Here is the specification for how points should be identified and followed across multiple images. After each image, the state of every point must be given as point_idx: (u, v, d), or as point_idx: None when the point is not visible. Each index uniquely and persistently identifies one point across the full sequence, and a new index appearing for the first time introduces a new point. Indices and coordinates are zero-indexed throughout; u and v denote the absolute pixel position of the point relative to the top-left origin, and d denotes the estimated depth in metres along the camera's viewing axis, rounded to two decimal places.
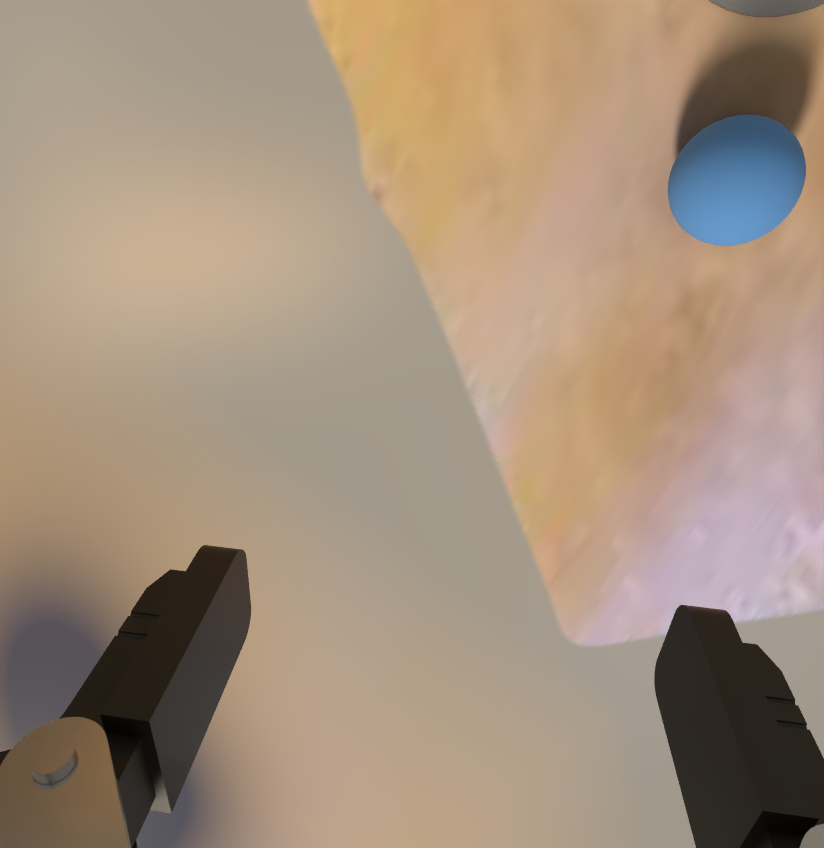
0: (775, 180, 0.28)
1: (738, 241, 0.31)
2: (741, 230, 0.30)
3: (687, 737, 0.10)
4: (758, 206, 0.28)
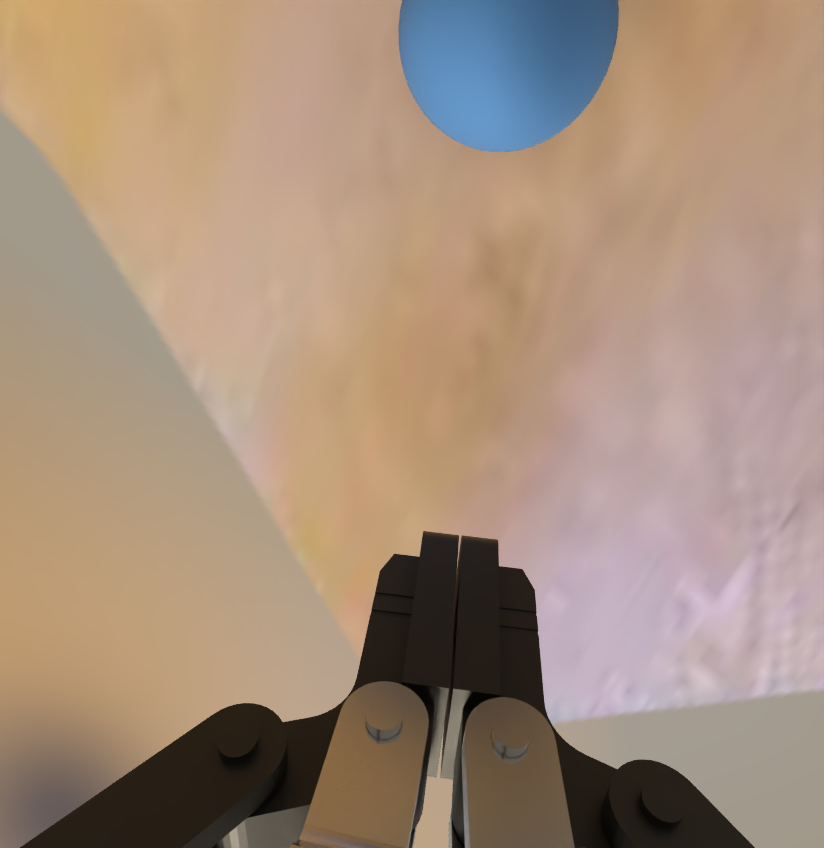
0: (543, 3, 0.15)
1: (510, 138, 0.17)
2: (503, 112, 0.16)
3: (451, 648, 0.11)
4: (518, 58, 0.15)
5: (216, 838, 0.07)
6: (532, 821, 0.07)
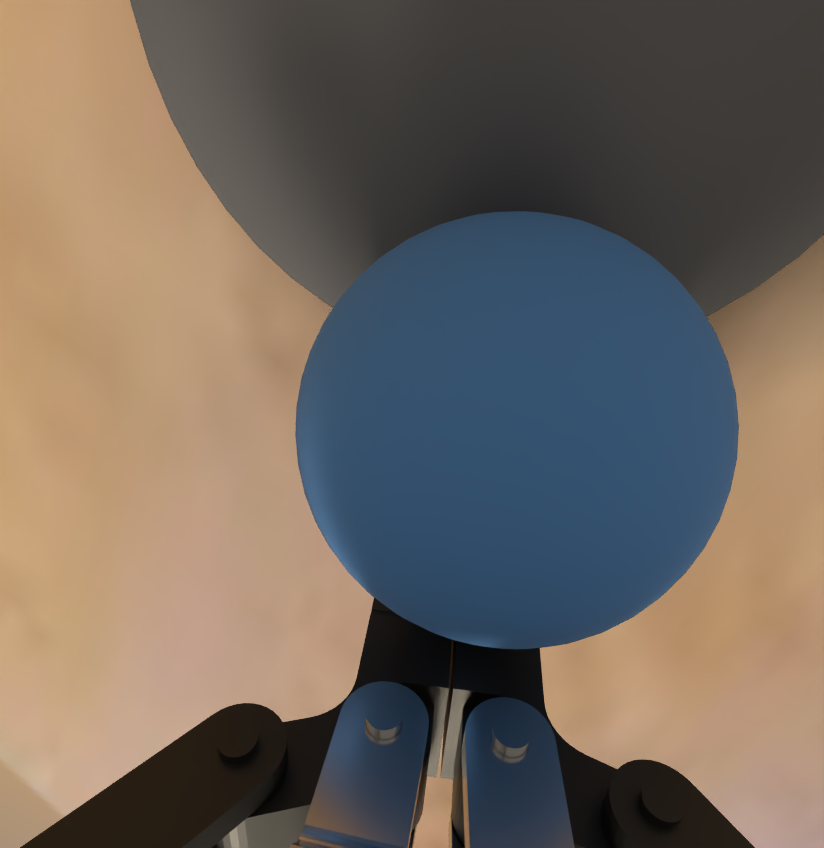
0: None
1: (599, 285, 0.07)
2: (564, 229, 0.07)
3: (451, 648, 0.11)
4: None
5: (216, 838, 0.07)
6: (532, 820, 0.07)
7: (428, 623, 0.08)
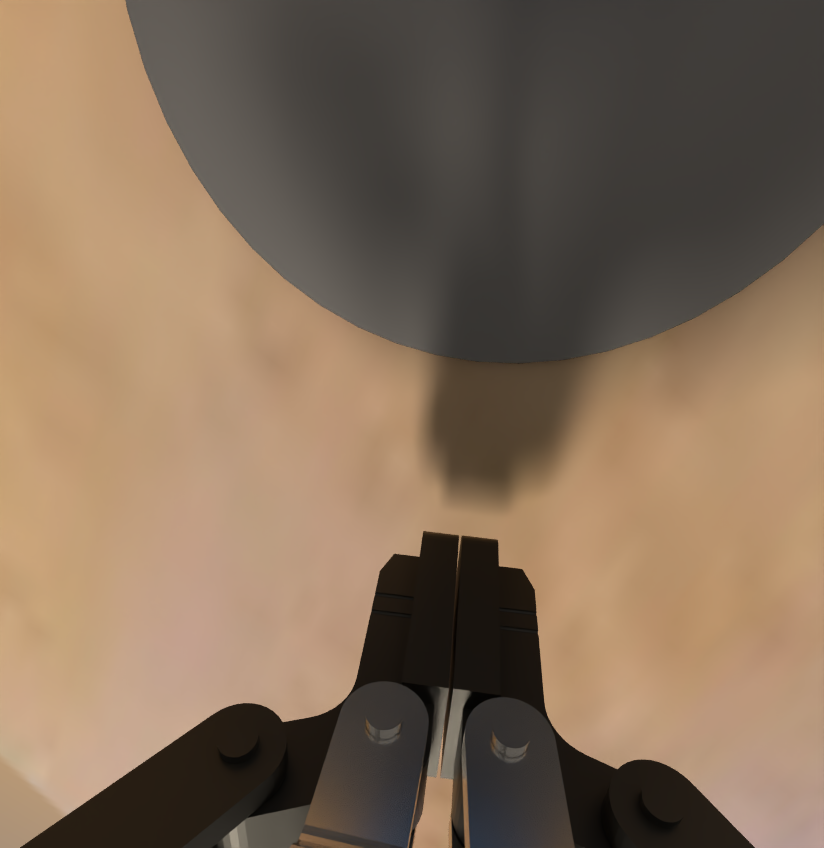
0: None
1: None
2: None
3: (451, 649, 0.11)
4: None
5: (216, 838, 0.07)
6: (532, 821, 0.07)
7: None
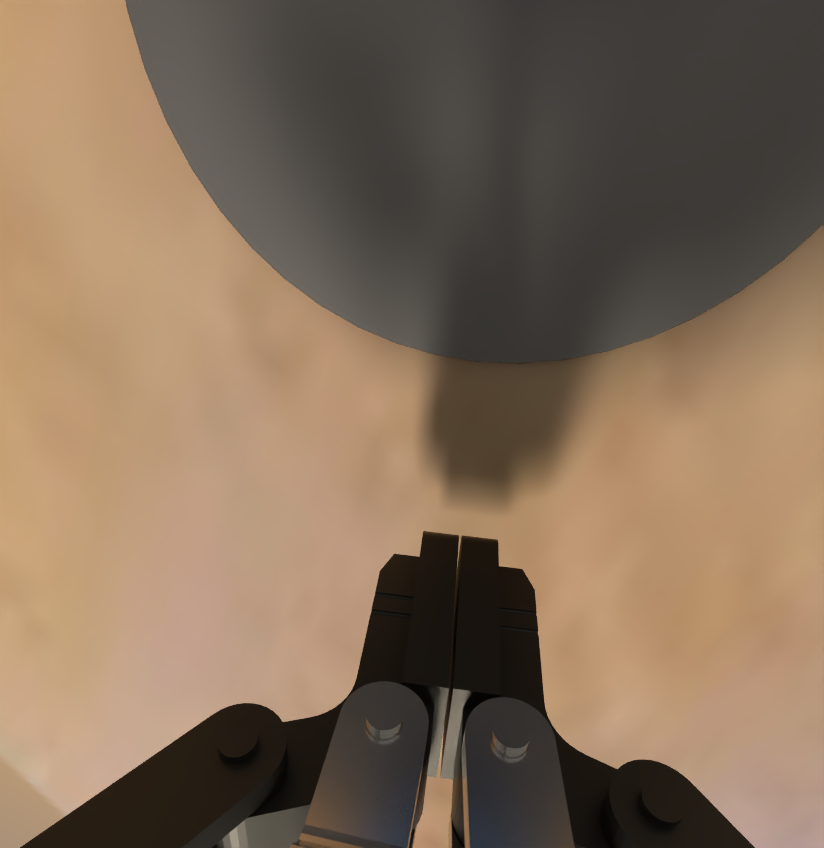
0: None
1: None
2: None
3: (451, 649, 0.11)
4: None
5: (216, 838, 0.07)
6: (532, 821, 0.07)
7: None
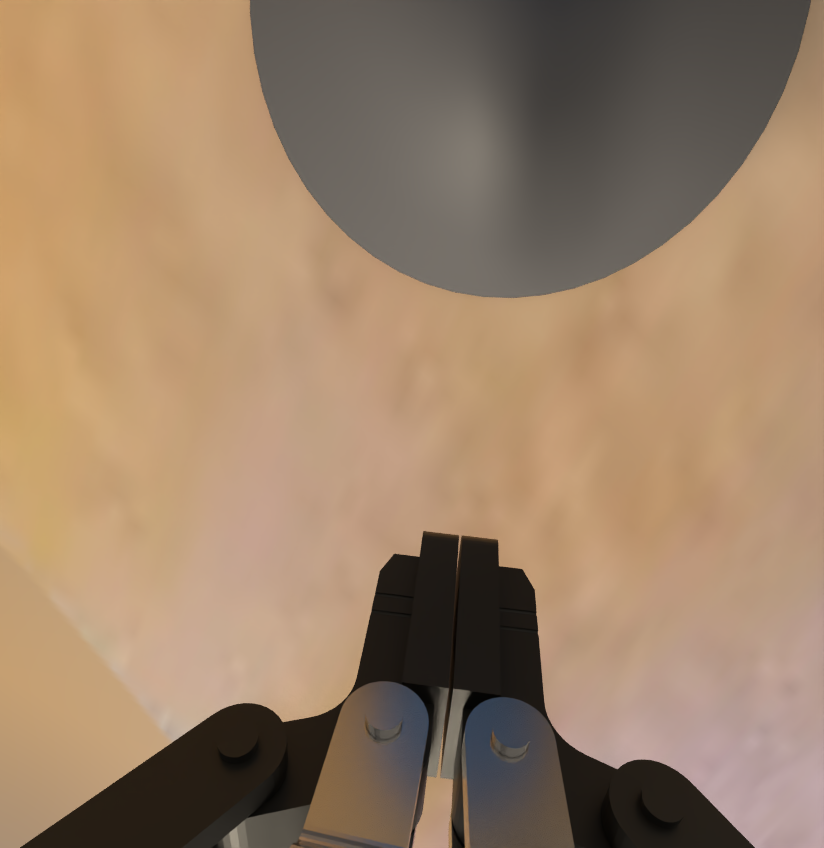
0: None
1: None
2: None
3: (451, 648, 0.11)
4: None
5: (216, 838, 0.07)
6: (532, 821, 0.07)
7: None
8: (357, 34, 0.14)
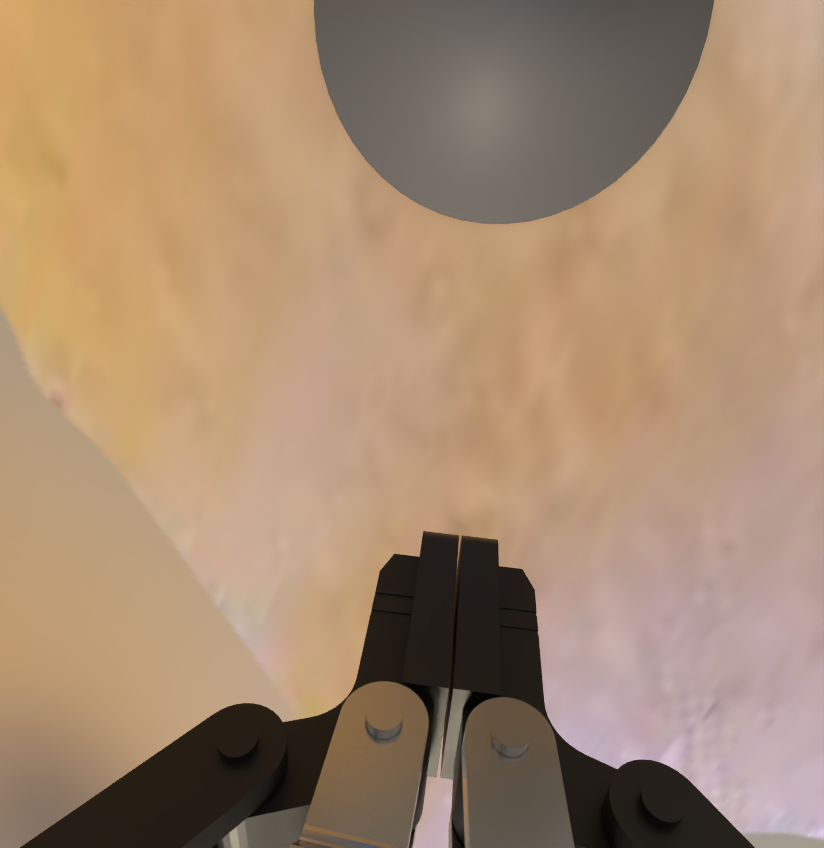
0: None
1: None
2: None
3: (451, 648, 0.11)
4: None
5: (216, 838, 0.07)
6: (533, 822, 0.07)
7: None
8: (391, 25, 0.19)
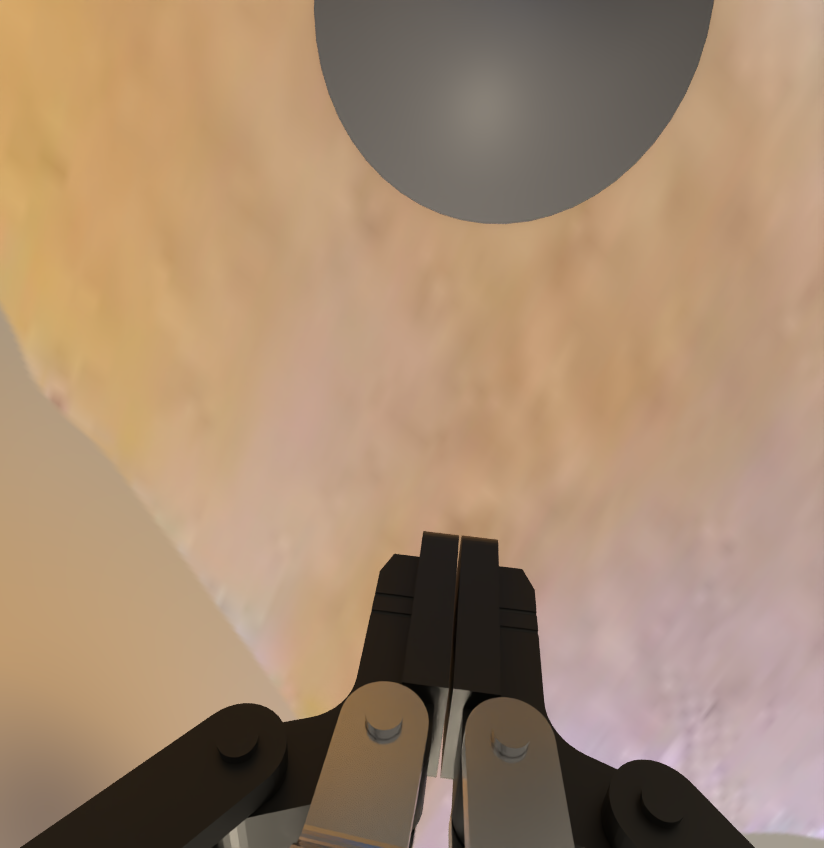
0: None
1: None
2: None
3: (451, 648, 0.11)
4: None
5: (216, 838, 0.07)
6: (532, 821, 0.07)
7: None
8: (391, 25, 0.19)
